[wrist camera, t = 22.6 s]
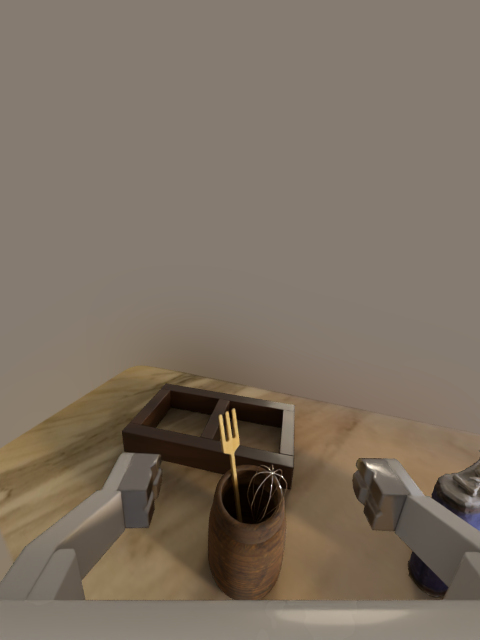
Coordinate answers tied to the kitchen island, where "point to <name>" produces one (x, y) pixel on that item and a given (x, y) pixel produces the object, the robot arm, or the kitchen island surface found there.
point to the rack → (212, 431)
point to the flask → (464, 501)
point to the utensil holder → (246, 525)
